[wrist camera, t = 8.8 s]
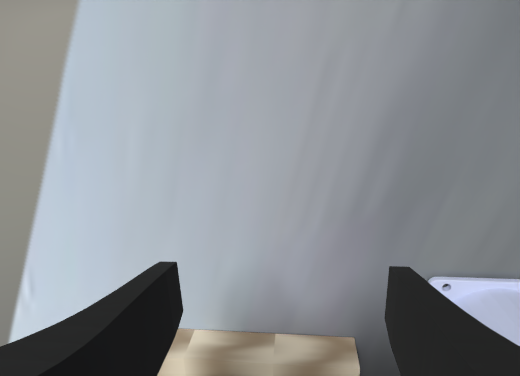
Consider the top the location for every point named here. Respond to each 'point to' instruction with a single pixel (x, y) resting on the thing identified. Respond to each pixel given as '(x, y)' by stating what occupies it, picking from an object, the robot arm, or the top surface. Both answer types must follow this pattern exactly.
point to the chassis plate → (259, 354)
